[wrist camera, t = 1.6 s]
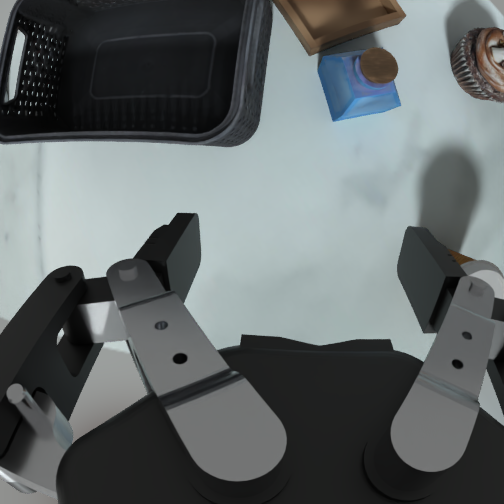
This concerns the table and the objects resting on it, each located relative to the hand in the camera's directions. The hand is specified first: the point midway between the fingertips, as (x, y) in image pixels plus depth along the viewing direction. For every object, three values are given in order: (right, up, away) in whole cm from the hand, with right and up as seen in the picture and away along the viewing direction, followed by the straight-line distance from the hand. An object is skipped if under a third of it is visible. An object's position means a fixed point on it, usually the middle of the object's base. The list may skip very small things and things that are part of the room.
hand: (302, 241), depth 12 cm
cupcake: (+26, +23, +17) cm, 39 cm away
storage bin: (-14, +22, +21) cm, 34 cm away
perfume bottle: (+9, +18, +20) cm, 28 cm away
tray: (+7, +30, +16) cm, 35 cm away
